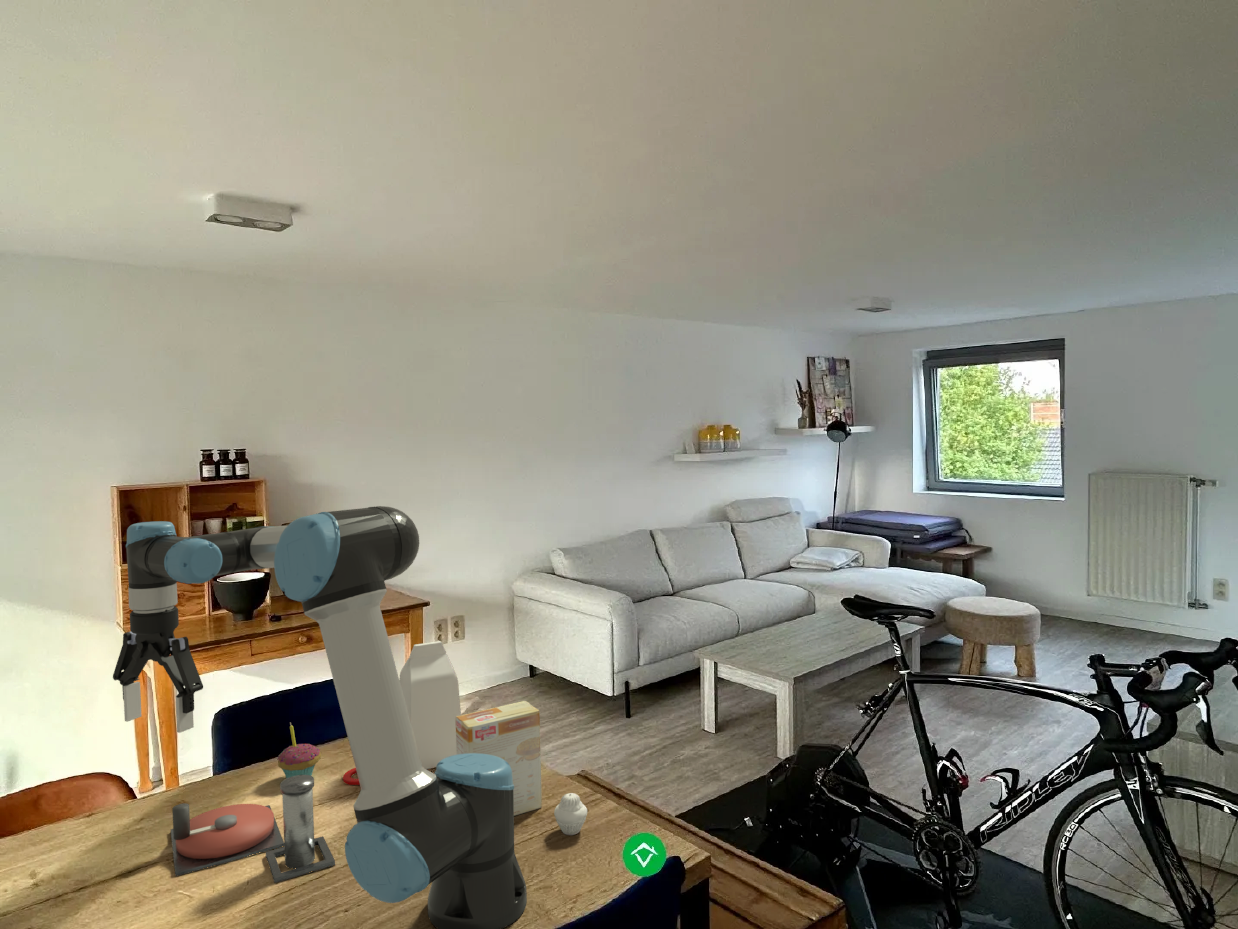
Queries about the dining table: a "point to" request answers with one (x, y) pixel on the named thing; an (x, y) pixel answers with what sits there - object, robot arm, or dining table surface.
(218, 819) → the red disc with handle
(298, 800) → the metal peg
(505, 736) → the coffeecake box
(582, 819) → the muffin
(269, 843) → the wheel base
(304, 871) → the grey flat square frame
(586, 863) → the dining table surface
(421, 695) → the milk
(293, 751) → the cupcake
